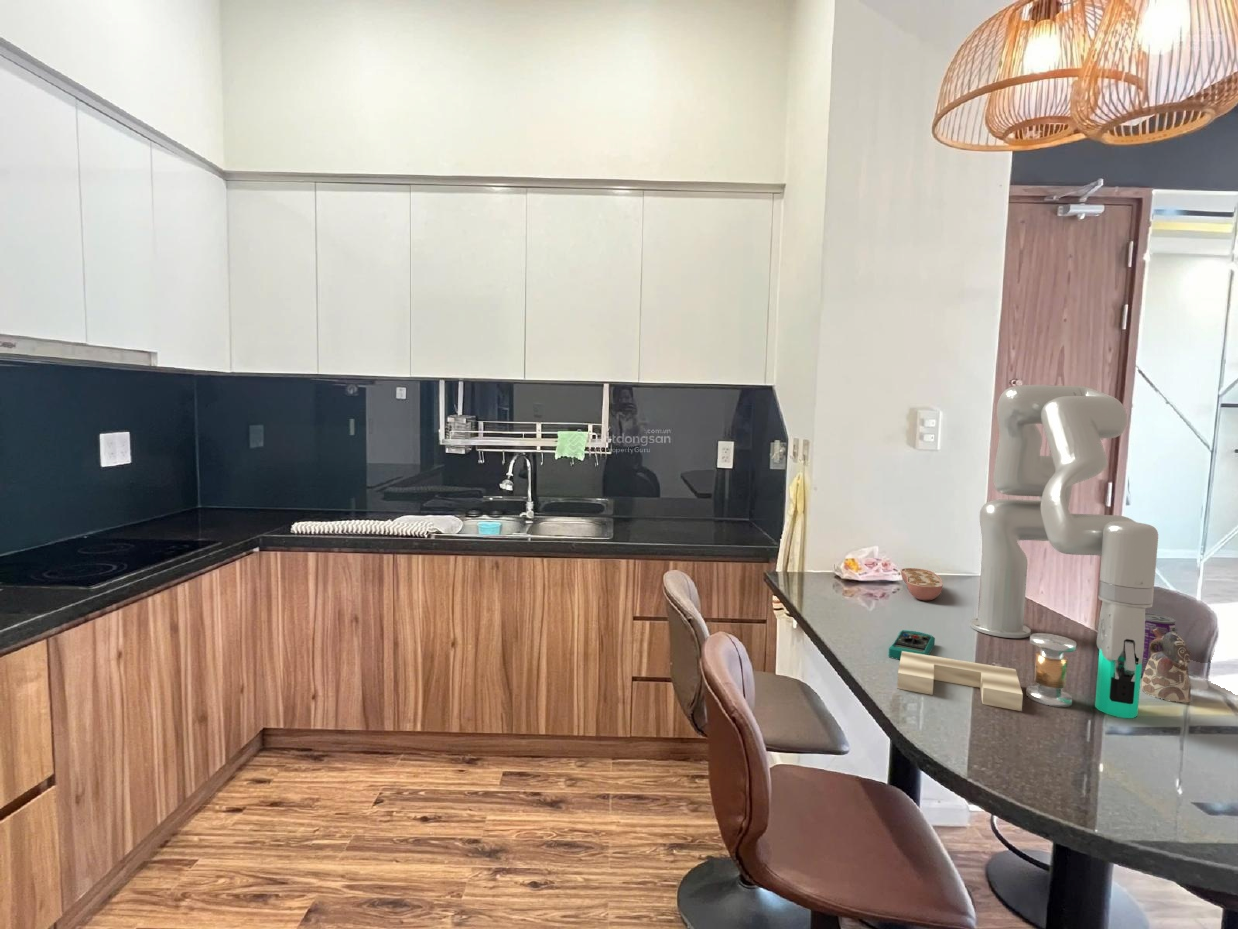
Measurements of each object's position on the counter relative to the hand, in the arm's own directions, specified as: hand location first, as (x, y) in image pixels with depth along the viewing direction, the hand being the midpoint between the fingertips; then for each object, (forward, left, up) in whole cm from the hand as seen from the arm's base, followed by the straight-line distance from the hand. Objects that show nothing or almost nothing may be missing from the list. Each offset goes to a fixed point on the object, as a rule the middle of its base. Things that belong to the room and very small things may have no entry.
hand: (1117, 694), depth 116 cm
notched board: (+2, -25, -3) cm, 25 cm away
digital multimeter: (-15, -33, -3) cm, 37 cm away
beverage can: (-23, +10, -3) cm, 25 cm away
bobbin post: (0, -10, -3) cm, 10 cm away
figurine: (-13, +10, -3) cm, 17 cm away
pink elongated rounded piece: (-69, -33, -3) cm, 76 cm away
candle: (0, 0, -3) cm, 3 cm away
